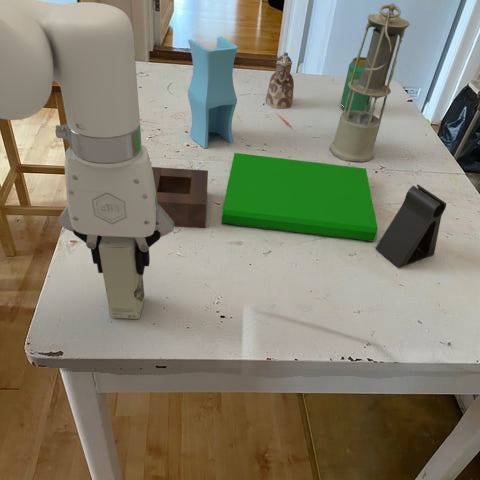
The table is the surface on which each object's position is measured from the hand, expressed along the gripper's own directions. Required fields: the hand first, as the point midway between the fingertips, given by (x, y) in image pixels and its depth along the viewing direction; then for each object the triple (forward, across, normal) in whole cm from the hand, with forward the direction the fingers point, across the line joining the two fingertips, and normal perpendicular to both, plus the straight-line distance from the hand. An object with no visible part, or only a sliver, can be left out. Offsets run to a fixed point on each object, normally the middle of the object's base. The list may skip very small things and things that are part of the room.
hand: (122, 266), depth 65 cm
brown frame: (+8, +5, +27) cm, 29 cm away
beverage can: (+8, +50, +81) cm, 96 cm away
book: (+8, +29, +32) cm, 44 cm away
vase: (+8, +11, +57) cm, 59 cm away
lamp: (+8, +44, +54) cm, 70 cm away
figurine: (+8, +29, +81) cm, 86 cm away
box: (+8, 0, 0) cm, 8 cm away
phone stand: (+8, +47, +17) cm, 51 cm away
